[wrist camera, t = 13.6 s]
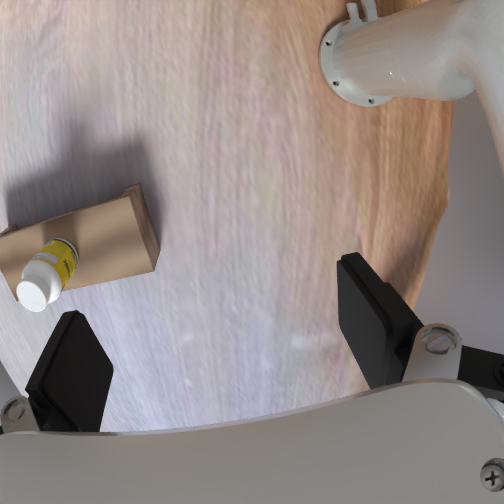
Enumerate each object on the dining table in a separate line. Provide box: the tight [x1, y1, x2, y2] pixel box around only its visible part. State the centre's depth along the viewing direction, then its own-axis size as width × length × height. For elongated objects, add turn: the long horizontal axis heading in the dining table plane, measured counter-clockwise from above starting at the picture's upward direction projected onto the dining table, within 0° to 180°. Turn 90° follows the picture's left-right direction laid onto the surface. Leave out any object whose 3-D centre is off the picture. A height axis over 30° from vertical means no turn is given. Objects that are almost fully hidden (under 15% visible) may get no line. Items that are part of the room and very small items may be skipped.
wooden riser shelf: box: [0, 184, 160, 301], centre depth 39 cm, size 10×24×6 cm, turn 100°
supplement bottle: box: [16, 238, 78, 312], centre depth 32 cm, size 5×5×10 cm
